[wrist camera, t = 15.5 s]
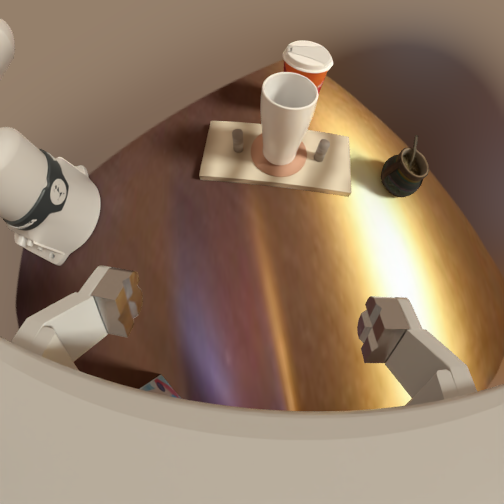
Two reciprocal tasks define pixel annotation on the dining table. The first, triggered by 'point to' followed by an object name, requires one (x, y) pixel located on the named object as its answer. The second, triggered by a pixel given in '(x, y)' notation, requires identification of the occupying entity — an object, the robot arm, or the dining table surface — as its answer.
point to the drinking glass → (286, 114)
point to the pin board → (265, 173)
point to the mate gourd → (405, 171)
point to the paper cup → (308, 61)
